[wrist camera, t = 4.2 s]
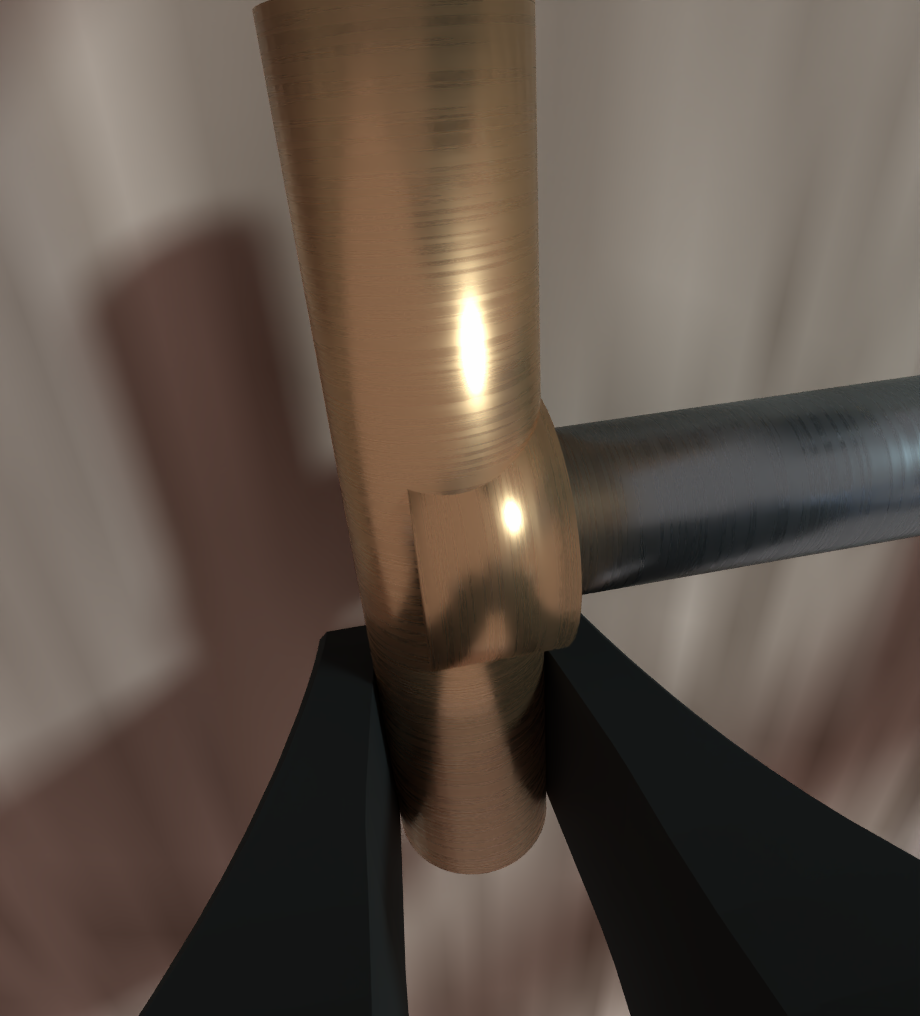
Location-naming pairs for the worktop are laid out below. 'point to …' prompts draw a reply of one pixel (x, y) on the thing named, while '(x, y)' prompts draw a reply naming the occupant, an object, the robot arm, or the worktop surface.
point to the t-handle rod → (507, 409)
